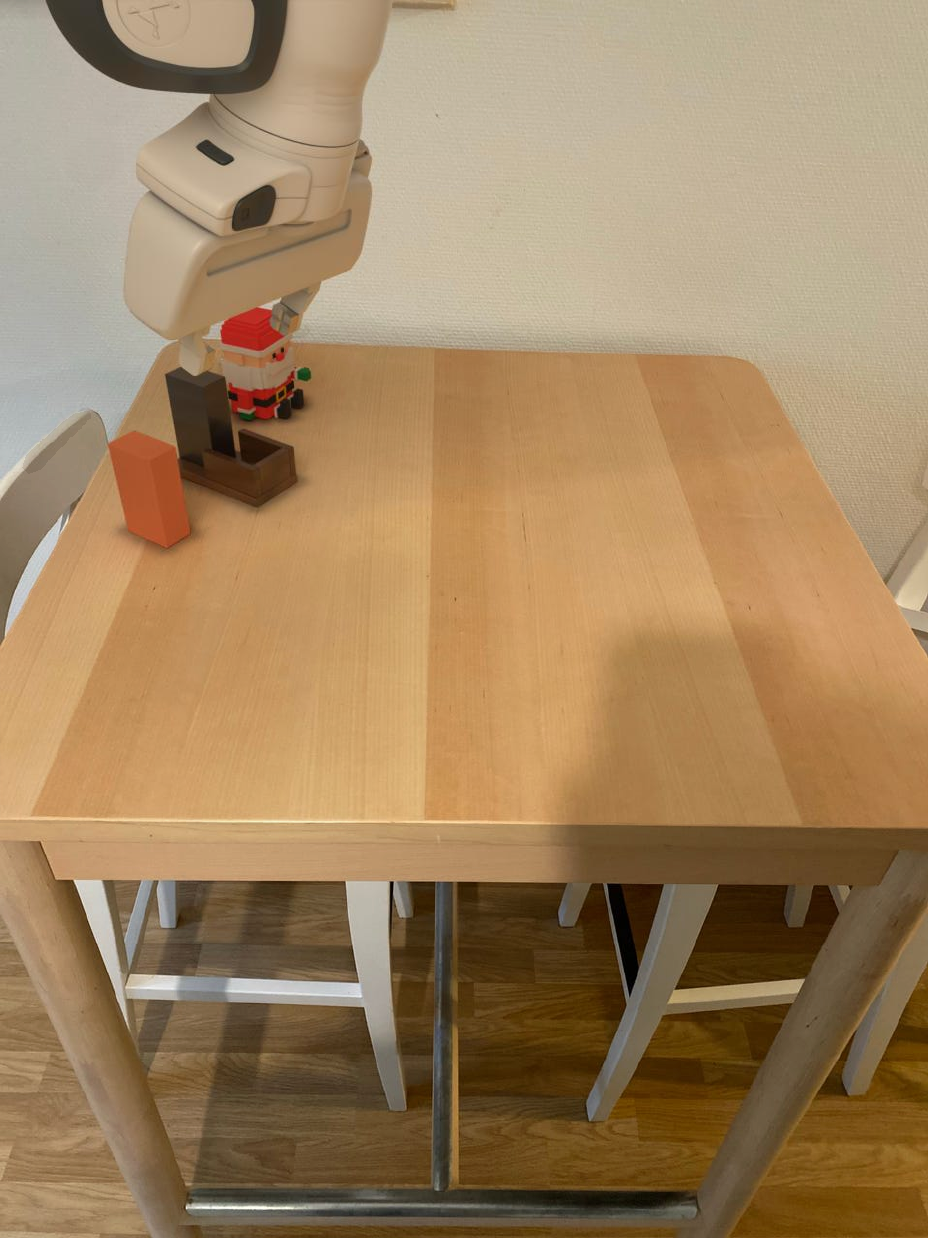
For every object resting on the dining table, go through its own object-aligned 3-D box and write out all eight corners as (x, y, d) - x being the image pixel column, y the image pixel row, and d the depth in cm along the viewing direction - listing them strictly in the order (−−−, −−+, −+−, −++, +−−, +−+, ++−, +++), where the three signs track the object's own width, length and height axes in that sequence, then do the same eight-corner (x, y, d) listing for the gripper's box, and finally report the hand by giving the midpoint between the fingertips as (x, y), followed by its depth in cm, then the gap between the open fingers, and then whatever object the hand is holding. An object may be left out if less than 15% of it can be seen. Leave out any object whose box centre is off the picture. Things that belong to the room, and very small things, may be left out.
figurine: (275, 428, 100) (265, 321, 92) (221, 414, 102) (206, 308, 94) (314, 397, 106) (307, 295, 98) (262, 386, 108) (251, 284, 100)
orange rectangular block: (167, 548, 81) (149, 459, 76) (127, 531, 83) (107, 443, 77) (191, 533, 83) (175, 445, 78) (152, 516, 85) (134, 429, 79)
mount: (257, 507, 87) (245, 412, 81) (169, 472, 92) (152, 379, 85) (297, 481, 91) (289, 388, 85) (212, 448, 96) (198, 358, 89)
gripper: (340, 112, 63) (298, 288, 73) (113, 155, 49) (99, 367, 58) (411, 158, 62) (360, 330, 72) (201, 215, 48) (172, 421, 57)
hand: (241, 347), depth 65 cm, fingers open, 8 cm apart
